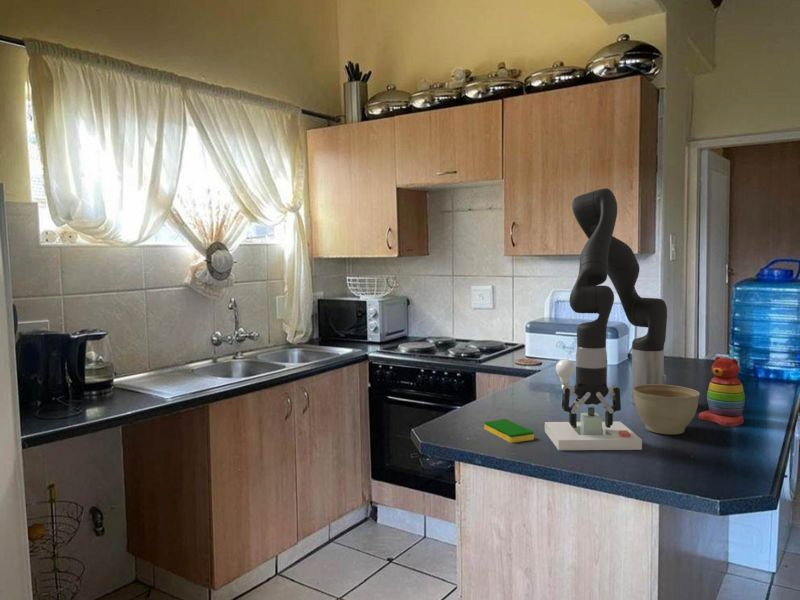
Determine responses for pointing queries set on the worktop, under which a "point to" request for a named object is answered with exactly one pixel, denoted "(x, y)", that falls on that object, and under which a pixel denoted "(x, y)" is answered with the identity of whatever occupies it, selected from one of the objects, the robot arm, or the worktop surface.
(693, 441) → the worktop surface
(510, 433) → the dish sponge
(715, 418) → the stacking bear
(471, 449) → the worktop surface
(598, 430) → the plug
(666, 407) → the planter bowl
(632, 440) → the socket plate
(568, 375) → the lightbulb
